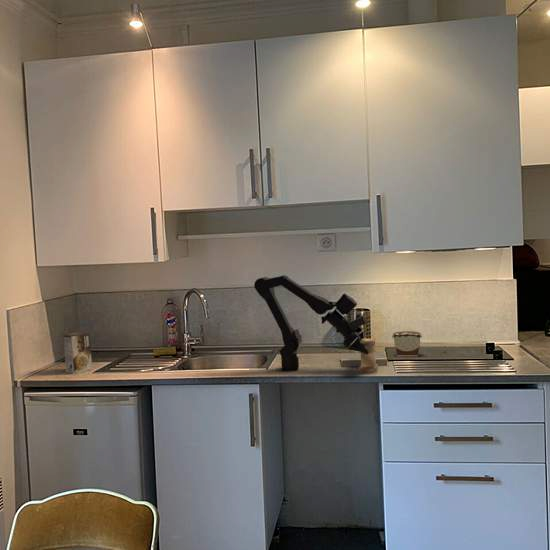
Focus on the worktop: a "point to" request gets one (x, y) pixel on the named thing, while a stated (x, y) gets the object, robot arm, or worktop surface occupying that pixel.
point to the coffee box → (77, 352)
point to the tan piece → (368, 357)
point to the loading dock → (356, 359)
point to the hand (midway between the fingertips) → (369, 351)
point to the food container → (407, 342)
